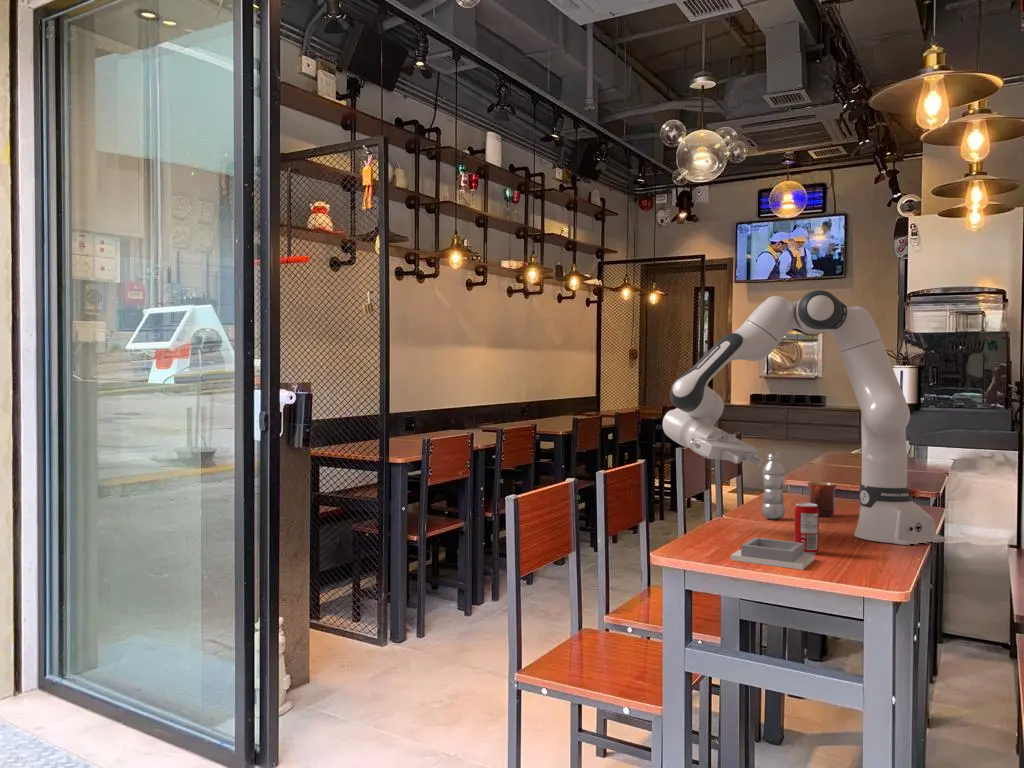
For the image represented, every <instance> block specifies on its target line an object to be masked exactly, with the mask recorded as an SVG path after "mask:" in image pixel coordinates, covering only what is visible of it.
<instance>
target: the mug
mask: <svg viewBox="0 0 1024 768" xmlns="http://www.w3.org/2000/svg"><path fill="white" fill-rule="evenodd" d="M806 484H807V487H808V491H809V500H808V501H809V502H808V503H812V504H817V505H818V510H819V518H831V517H833V516H834V512H835V494H836V493H835V492H836V488H837V486H838V484H837V483H835V482H829V481H828V482H827V481H807V483H806ZM830 516H831V517H830Z"/></svg>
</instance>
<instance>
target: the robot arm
mask: <svg viewBox="0 0 1024 768" xmlns="http://www.w3.org/2000/svg"><path fill="white" fill-rule="evenodd" d="M791 331H793V332H797V333H800V334H803V335H807V336H817V335H821V334H823V333H825V332H827V333H828V334H829V335H831V336H832V337H833V339H834V340H835V342H836V344H837V348H838V351H839V354H840V357H841V360H842V363H843V365H844V369H845V371H846V374H847V376H848V379H849V383H850V385H851V387H852V390H853V393H854V394H855V398H856V400H857V403H858V406H859V409H860V412H861V413H860V414H861V421H860V423H861V430H860V431H861V484H860V485H859V494H858V495H859V503H860V507H859V515H858V520H857V525H856V529H855V531H854V534H853V535H854V537H856V538H857V539H858V538H859V539H861V540H865V541H872V542H879V543H887V544H896V545H903V546H911V545H910V544H914V545H919V544H918V543H925V544H927V543H926V542H933V543H932V544H935V543H943V542H945V543H946V538H945V536H944V535H940V534H938V533H936V532H937V531H936V524H935V520H934V518H933V516H931V515H930V514H929V513H928V512H927V511H925V510H924V509H923V508H922V507H920V505H918V504H917V503H916V502H914V501H913V500H914V499H913V497H916V498H919V497H921V496H922V491H921V490H920V489H919V488H917V489H916V488H911V489H910V487H908V452H907V450H908V448H907V435H906V434H907V431H906V430H907V426H908V424H909V422H910V419H911V411H910V408H909V405H908V402H907V400H906V398H905V395H904V392H903V390H902V387H901V384H900V382H899V381H898V378H897V376H896V372H895V371H894V368H893V366H892V363H891V360H890V358H889V355H888V352H887V349H886V347H885V344H884V342H883V341H884V340H883V339H882V335H881V333H880V331H879V328H878V326H877V325H876V323H875V321H874V319H873V317H872V315H871V314H870V312H869V310H867V309H866V308H864V307H863V306H858V305H857V306H856V305H855V306H847V305H846V304H845V303H843V302H842V301H841V300H839V298H838V297H837V296H835V295H834V294H832V293H831V292H829V291H827V290H823V289H818V290H817V289H816V290H812V291H809V292H807V293H806V294H804V295H803V296H802V297H801V298H800V299H799V300H798V301H790V300H788V299H787V298H785V297H783V296H781V295H772V296H769V297H767V298H766V299H764V301H762V302H761V303H760V304H759V305H758V307H756V308H755V309H754V310H753V312H752V313H751V314H750V315H749V316H748V317H747V318H746V320H745V321H744V322H743V323H742V324H741V326H739V327H738V328H737V329H735V331H733V332H730V333H728V334H725V335H724V336H723V337H721V338H720V339H719V340H718V341H717V342H715V344H714V345H713V346H712V347H710V349H709V350H708V351H707V352H706V353H705V354H703V356H702V357H701V358H700V359H699V360H698V361H697V362H696V363H695V364H694V365H693V366H692V367H691V368H689V370H687V371H686V372H684V373H683V374H681V375H680V376H679V377H677V379H675V380H674V381H673V383H672V385H671V387H670V389H669V390H670V392H669V400H670V402H671V404H672V406H673V407H675V408H674V409H670V410H668V411H666V413H665V415H664V417H663V419H662V429H663V432H664V434H665V435H666V436H667V437H668V438H669V439H671V440H672V441H673V442H675V443H677V444H678V445H680V446H682V447H685V448H689V449H690V450H691V451H692V452H694V453H695V454H698V455H699V456H702V457H704V458H705V459H707V460H720V461H721V460H723V461H729V462H732V463H734V464H741V462H744V463H745V462H747V463H751V464H754V465H756V466H761V465H762V464H763V459H762V458H760V457H758V453H759V450H757V449H756V448H755V447H753V446H752V445H751V444H749V443H746V442H745V441H743V440H741V439H739V438H737V436H736V435H735V434H733V433H732V432H727V431H724V430H723V429H720V428H719V427H717V426H715V425H716V424H717V423H718V422H719V419H721V417H722V416H723V413H724V411H725V401H724V399H723V397H722V396H720V395H719V394H718V393H717V392H716V391H715V390H714V389H711V387H710V386H708V384H709V383H710V381H711V380H712V379H713V378H714V377H716V375H717V374H718V373H719V372H720V371H721V370H722V369H723V368H724V367H725V366H726V365H728V364H729V363H730V362H733V361H735V360H743V361H747V362H757V361H762V360H764V359H765V358H767V357H768V356H769V355H770V354H771V353H773V351H774V350H775V349H776V348H777V346H778V345H779V344H780V342H781V341H782V340H783V338H785V337H786V335H787V334H788V333H789V332H791Z"/></svg>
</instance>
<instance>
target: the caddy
mask: <svg viewBox="0 0 1024 768" xmlns="http://www.w3.org/2000/svg"><path fill="white" fill-rule="evenodd" d="M740 548H741V549H739V550H737V551H735V552H733V553H732V554H730V561H734V562H742V563H743V562H744V563H749V564H756V565H757V564H758V565H764V566H765V565H766V566H772V567H780V568H787V569H794V570H801V571H803V570H805V568H807V567H808V566H810V564H812V563H813V562H814V561H815V554H804V543H798V542H794V541H789V540H781V539H773V538H763V537H753V538H751V539H749V540H747V541H746V542H745V543H743V544H741V546H740Z"/></svg>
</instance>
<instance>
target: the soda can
mask: <svg viewBox="0 0 1024 768" xmlns="http://www.w3.org/2000/svg"><path fill="white" fill-rule="evenodd" d="M819 529H820V517H819V510H818V505H817V504H812V503H809V502H797V503H796V505H795V509H794V534H793V535H794V539H793V540H794V541H793V542H798V543H804V554H812V555H816V554H817V553H818V552H819V544H820V543H819V541H820V540H819V538H820V536H819V535H820V533H819V531H820V530H819Z"/></svg>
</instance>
